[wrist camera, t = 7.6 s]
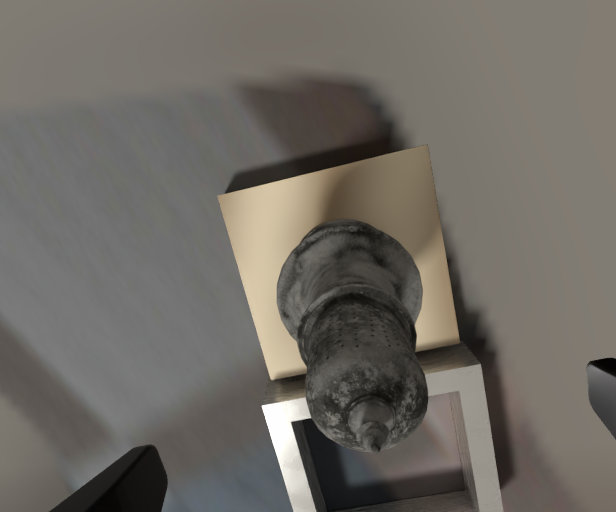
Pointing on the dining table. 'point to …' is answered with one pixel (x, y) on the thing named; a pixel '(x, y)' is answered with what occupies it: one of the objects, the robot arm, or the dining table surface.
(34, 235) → the dining table surface
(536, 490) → the dining table surface
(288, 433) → the grey square frame
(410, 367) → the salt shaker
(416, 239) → the wooden square board
